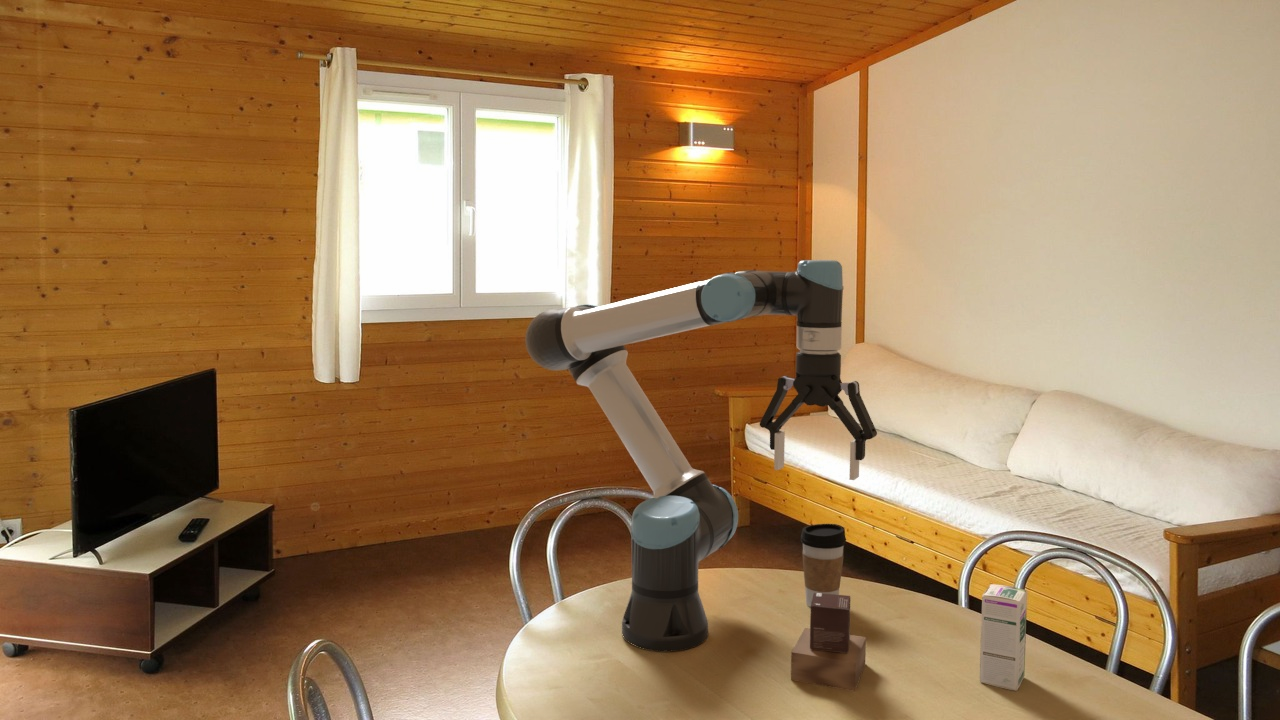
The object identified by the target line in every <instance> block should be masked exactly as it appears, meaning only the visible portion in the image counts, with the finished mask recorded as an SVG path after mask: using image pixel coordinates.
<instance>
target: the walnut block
mask: <svg viewBox="0 0 1280 720" xmlns="http://www.w3.org/2000/svg"><path fill="white" fill-rule="evenodd" d="M866 648H867V637H866V636H860V635H853V634H850V640H849V650H848V653H840V652H831V651H820V650H812V649H810V628H809V627H804V629H803V631H802V632H801V634H800V636H799V638H798V640H797V641H796V644H795V645H794V647H793V648H792V650H791V653H790V654H791V655H790V659H791V660H790V681H795V682H801V683H808V684H813V685H817V686H818V685H819V686H823V687H829V688H835V689H841V690H847V691H853V692H856V690H857V688H858V685H859V681H860V679H861V677H862V674H863V672H864V668H865V665H866V656H867V655H866V654H867V653H866Z"/></svg>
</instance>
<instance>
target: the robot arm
mask: <svg viewBox="0 0 1280 720" xmlns="http://www.w3.org/2000/svg"><path fill="white" fill-rule="evenodd" d="M843 282H844V279H843V265H842V264H841V262H840V261H838V260H836V259H835V260H833V259H829V260H828V259H825V260H824V259H816V260H814V259H812V260H811V259H805V260H803V259H802V260H800V261H799V262H798V263H797V269H796V270H795V271H794V270H793V271H773V270H770V271H769V270H753V269H752V270H742V271H740V270H739V271H736V272H735V273H734V272H726V273H722V274H717V275H715V276H713V277H711V278H708V279H705V280H700V281H696V282H693V283H688V284H684V285H680V286H677V287H673V288H669V289H665V290H660V291H655V292H652V293H648V294H645V295H640V296H636V297H633V298H628V299H624V300H620V301H617V302H612V303H608V304H604V305H593V304H580V305H576V306H571V307H562V308H561V307H560V308H551V309H547V310H545V311H541V312H540V313H539V314H537V315H536V316H535V317H534V318H533V319H532V320H531V321H530V323H529V325H527V326H528V327H527V329H526V333H525V346H526V347H525V348H526V351H527V353H528V355H529V356H530V358H531V359H532V360H533V362H534V363H536V364H537V365H538V366H540V367H541V368H542V369H546V370H549V371H555V372H556V371H566V370H568V372H569V374H570V375H571V376H572V378H573V379H574V381H575V383H576V385H578V386H582V387H587V388H588V389H589V390H590V392H591V394H592V395H593V397H594V399H595V401H596V402H597V403H598V405H599V407H600V408H601V410H602V411H603V413H604V414H605V416H606V418H607V420H608V421H609V423H610V424H611V426H612V428H613V429H614V431H615V432H616V434H617V435H618V438H619V439H620V440H621V442H622V444H623V446H624V447H625V448H626V450H627V452H628V454H629V455H630V457H631V458H632V460H633V461H634V463H635V464H636V466H637V468H638V470H639V472H641V474H642V476H643V477H644V480H645V481H646V482H647V484H648V486H649V487H650V489H651V490H652V492H653V496H652V497H651V498H648V499H645V500H644V501H641V503H639V504H637V506H636V507H635V508H634V510H633V512H632V516H631V517H632V518H631V525H630V537H631V593H630V596H629V599H628V603H627V605H626V608H625V612H624V615H623V618H622V622H621V624H622V625H621V634H623V635H622V637H623V636H624V638H625V639H626V640H627V641H629V642H630V643H632V644H634V645H636V646H638V647H637V648H639V647H641V648H640V649H642V648H644V649H643V650H646V649H647V651H652V650H653V651H654V652H678V651H685V650H689V649H693V648H695V647H698V646H699V645H701V644H703V643H704V642H705V641H706V640H707V639H708V636H709V621H708V618H707V615H706V612H705V609H704V605H703V602H702V598H701V596H700V594H699V593H700V592H699V563H700V561H703V560H704V559H706V558H707V557H708V556H710V555H711V554H713V553H715V552H716V551H718V550H719V549H722V548H723V547H724V546H726V544H727V543H728V542H729V541H730V540H731V539H732V537H734V535H735V532H736V530H737V528H738V523H739V511H738V507H737V504H736V502H735V500H734V498H733V496H732V495H731V493H729V492H728V491H727V490H726V489H725V488H723V487H721V486H718V485H716V484H713V483H712V481H710V479H709V477H708V475H707V474H706V472H705V471H704V470H699V469H695V468H693V467H692V466H691V464H690V462H689V461H688V459H687V458H686V456H685V455H684V453H683V452H682V450H681V448H680V447H679V445H678V444H677V442H676V441H675V438H673V436H672V434H671V433H670V431H669V430H668V428H667V427H666V425H665V423H664V422H663V421H662V419H661V417H660V415H659V414H658V412H657V410H656V409H655V408H654V406H653V404H652V403H651V401H650V400H649V398H648V396H647V395H646V394H645V392H644V390H643V388H642V387H641V386H640V384H639V383H638V381H637V379H636V377H635V376H634V374H633V373H632V371H631V370H630V368H629V367H628V365H627V361H628V360H627V359H628V355H629V352H628V350H627V349H626V347H625V345H629V344H630V345H631V344H634V343H640V342H643V341H648V340H652V339H656V338H657V339H658V338H660V337H664V336H665V337H666V336H670V335H673V334H679V333H682V332H684V333H685V332H688V331H691V330H696V329H701V328H705V327H710V326H715V325H720V324H725V323H730V322H735V321H738V320H743V319H746V318H747V319H748V318H753V317H760V316H767V315H769V316H771V315H773V316H775V315H776V316H796V348H797V349H798V350H799V351H798V352H796V354H795V378H791V377H790V376H789V375H784V376H781V377H779V378H778V379H777V383H776V384H777V385H776V389H775V390H776V391H775V392H774V394H773V395H772V398H771V400H770V402H769V404H768V406H767V408H766V410H765V412H764V414H763V416H762V418H761V420H760V421H759V426H760V428H762V429H763V428H764V429H766V430H767V431H768V432H769V448H770V450H772V451H774V454H773V455H774V461H773V462H774V463H773V465H774V467H773V470H775V471H780V470H781V469H783V468H785V442H786V441H785V438H786V437H785V436H786V435H785V434H786V432H785V430H781V429H782V427H783V426H784V425H785V424H786V423H787V422H788V421H789V419H790V418H791V417H792V416H793V415H794V414H795V413H796V412H797V411H798V410H799V408H800V407H801V406H802V405H803V404H806V406H818V407H822V408H823V407H827V406H828V407H829V408H830V410H831V411H833V412H834V413H835V415H836V416H837V417H838V419H839V420H840V422H842V424H843V425H844V427H845V428H846V429H847V430H848V432H849V434H850V435H851V436H852V438H854V439H853V440H851V441H850V445H849V449H850V450H849V480H851V481H855V480H856V479H858V478H859V477H860V461H862V460H864V459H865V457H866V441H867V440H872V439H873V438H875V437H877V435H878V431H877V429H876V427H875V425H874V422H873V420H872V418H871V416H870V414H869V411H868V409H867V407H866V405H865V402H864V400H863V398H862V396H861V392H860V391H861V390H860V383H859V381H857V380H853V381H852V382H842V380H841V373H842V372H841V371H842V370H841V369H842V368H841V366H842V363H841V362H842V354H841V353H840V352H839V351H840V350H841V349H842V330H843V329H842V328H843V327H842V323H843V321H842V320H843V319H842V318H843V317H842V316H843V315H842V314H843V299H844V298H843V295H844V293H843V292H844V288H845V287H844V285H843V284H844V283H843ZM792 387H793V388H794V390H795V391H796V393H797V395H795V396H794V398H793V399H792V400H791V402H790V404H789V405H788V406H787V407H786V408H785V409H784V410H783V411H782V412H781V413H780V414H779V416H778V417H777V418H776V419H775V416H776V415H777V413H778V411H779V409H780V408H781V405H782V403H783V402H784V399H785V397H786V395H787V393H788V390H791V389H792ZM842 391H843V392H844V393H845V395H846V396H848V400H849V402H850V404H851V407H852V409H853V411H854V414H855V416H856V418H857V420H858V422H859V423H858V422H857V420H856V419H855V418H854V416H853V415H852V413H851V412H850V411H849V409H848V408H847V407H846V406H845V404H844V401H843V400H842V398H841V397H840V396H839V395H840V393H841V392H842ZM774 419H775V420H774ZM624 638H623V639H624ZM625 639H624V640H625ZM626 640H625V641H626ZM627 641H626V642H627ZM630 643H629V644H630ZM632 644H631V645H632ZM634 645H633V646H634ZM636 646H635V647H636Z"/></svg>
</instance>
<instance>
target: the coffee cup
mask: <svg viewBox="0 0 1280 720" xmlns="http://www.w3.org/2000/svg"><path fill="white" fill-rule="evenodd" d="M846 541H847V538H846V528H845V527H844V526H842V525H840V524H836V523H816V524H811V525H805V526H804V527H802V529H801V535H800V543H802V551H801V552H802V566H803V568H802V569H803V578H804V587H805V588H804V589H805V603H806V605H807V607H809V608H811V602H812V597H813V593H823V594H834V595H840V587H841V580H842V572H843V564H844V555H845V554H844V547H845V546H846V544H847V542H846Z"/></svg>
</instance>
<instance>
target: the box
mask: <svg viewBox="0 0 1280 720" xmlns="http://www.w3.org/2000/svg"><path fill="white" fill-rule="evenodd" d="M809 620H810V623H809V625H810V626H809V627H810V628H809V629H810V649H812V650H820V651H831V652H840V653H848V650H849V640H850V635H851V631H850V630H851V595H846V594H839V595H834V594H823V593H813V597H812V602H811V607H810V619H809Z"/></svg>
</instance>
